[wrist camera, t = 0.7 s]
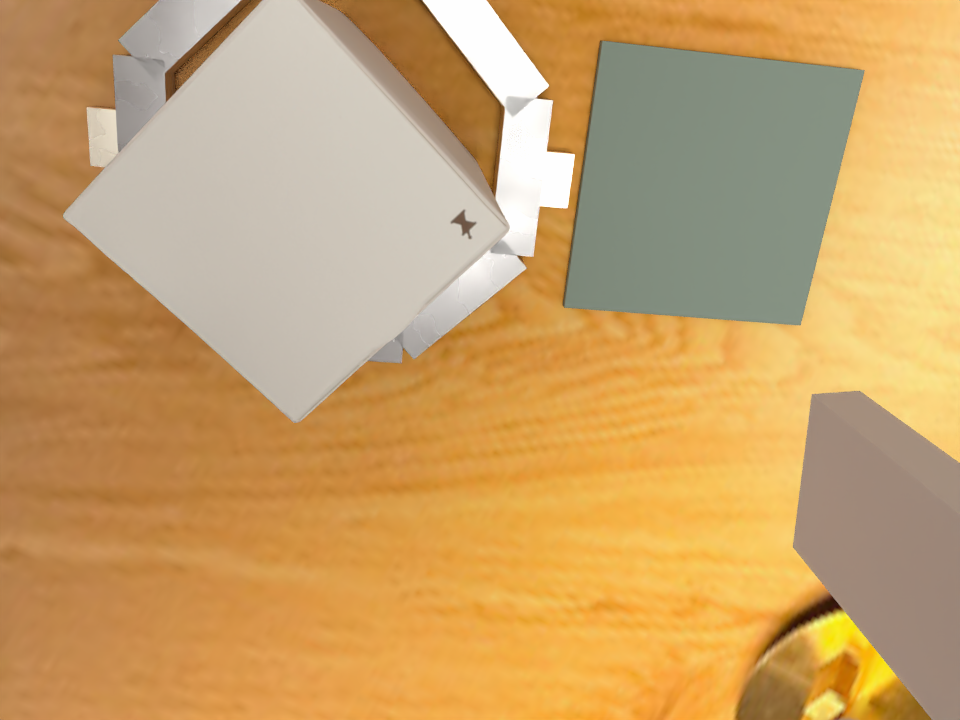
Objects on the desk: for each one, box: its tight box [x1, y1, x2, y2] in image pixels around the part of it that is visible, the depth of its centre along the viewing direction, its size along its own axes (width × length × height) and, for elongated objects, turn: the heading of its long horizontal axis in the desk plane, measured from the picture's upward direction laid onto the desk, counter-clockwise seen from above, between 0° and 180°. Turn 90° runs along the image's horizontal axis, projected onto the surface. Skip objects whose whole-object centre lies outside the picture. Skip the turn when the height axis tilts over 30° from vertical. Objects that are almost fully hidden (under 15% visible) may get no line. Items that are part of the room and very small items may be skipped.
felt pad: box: [563, 41, 865, 325], centre depth 37 cm, size 12×12×1 cm
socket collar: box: [87, 0, 575, 363], centre depth 35 cm, size 21×18×2 cm
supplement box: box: [63, 0, 510, 423], centre depth 29 cm, size 9×9×15 cm
